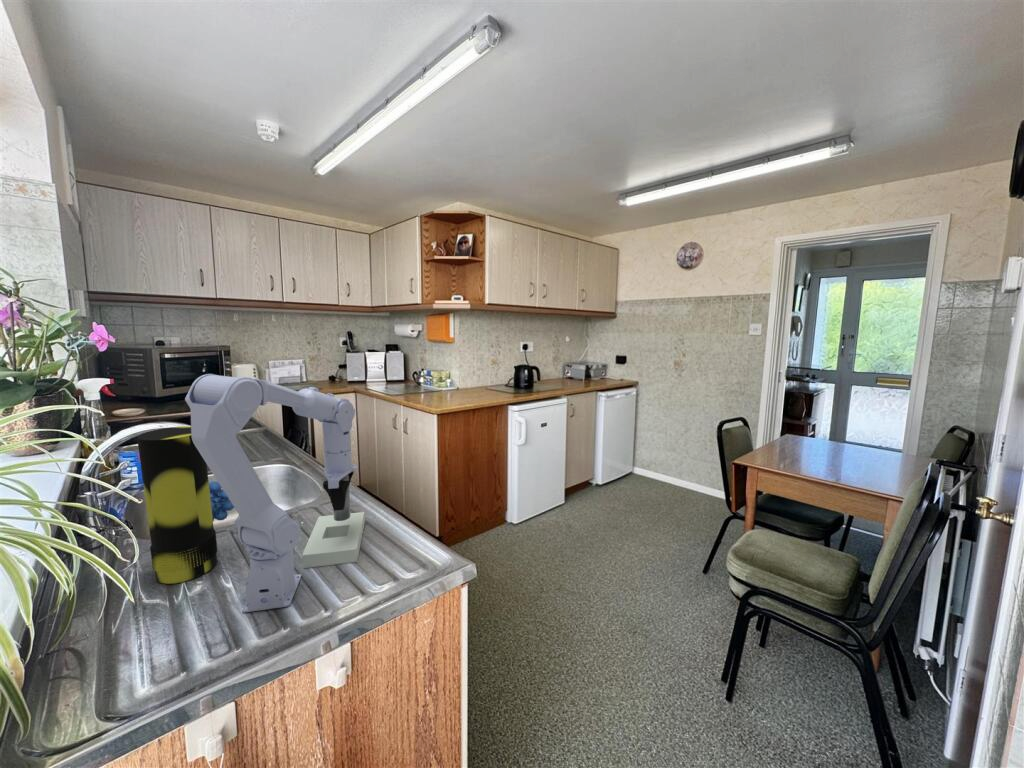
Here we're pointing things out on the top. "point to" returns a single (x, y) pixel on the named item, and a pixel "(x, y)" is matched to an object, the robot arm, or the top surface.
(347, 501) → the peg
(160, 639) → the top surface
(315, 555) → the hole block
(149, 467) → the container
